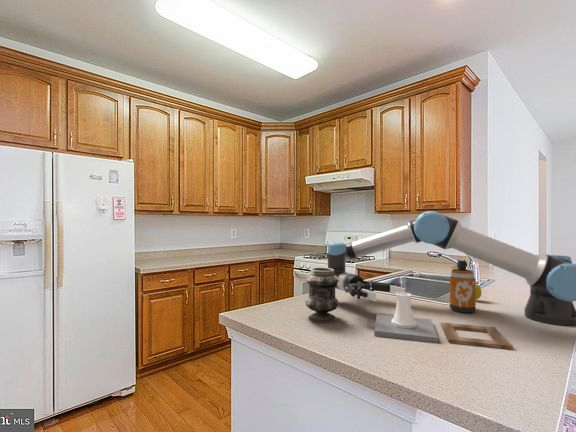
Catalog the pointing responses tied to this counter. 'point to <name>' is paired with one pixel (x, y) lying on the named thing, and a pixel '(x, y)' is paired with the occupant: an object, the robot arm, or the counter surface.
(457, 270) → the canister
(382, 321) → the slate board
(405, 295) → the vase
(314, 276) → the apothecary jar
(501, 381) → the counter surface
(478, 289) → the lemon
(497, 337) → the holder frame
